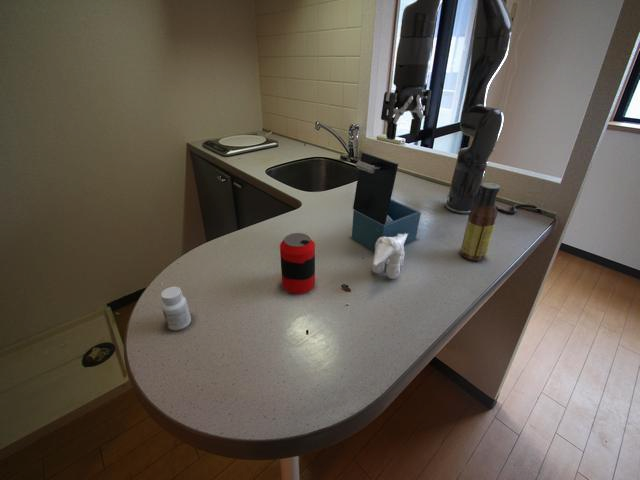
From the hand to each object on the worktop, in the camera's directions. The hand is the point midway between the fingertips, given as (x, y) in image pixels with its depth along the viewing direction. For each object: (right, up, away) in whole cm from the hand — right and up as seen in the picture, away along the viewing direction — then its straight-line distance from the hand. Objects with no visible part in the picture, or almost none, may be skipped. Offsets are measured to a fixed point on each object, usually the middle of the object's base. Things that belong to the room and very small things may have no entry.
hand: (402, 136), depth 78 cm
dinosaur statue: (-3, -33, +1) cm, 33 cm away
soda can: (-25, -36, -5) cm, 44 cm away
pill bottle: (-48, -42, -16) cm, 66 cm away
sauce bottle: (+20, -30, +7) cm, 37 cm away
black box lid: (-7, -12, +2) cm, 14 cm away
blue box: (-2, -25, +14) cm, 29 cm away
